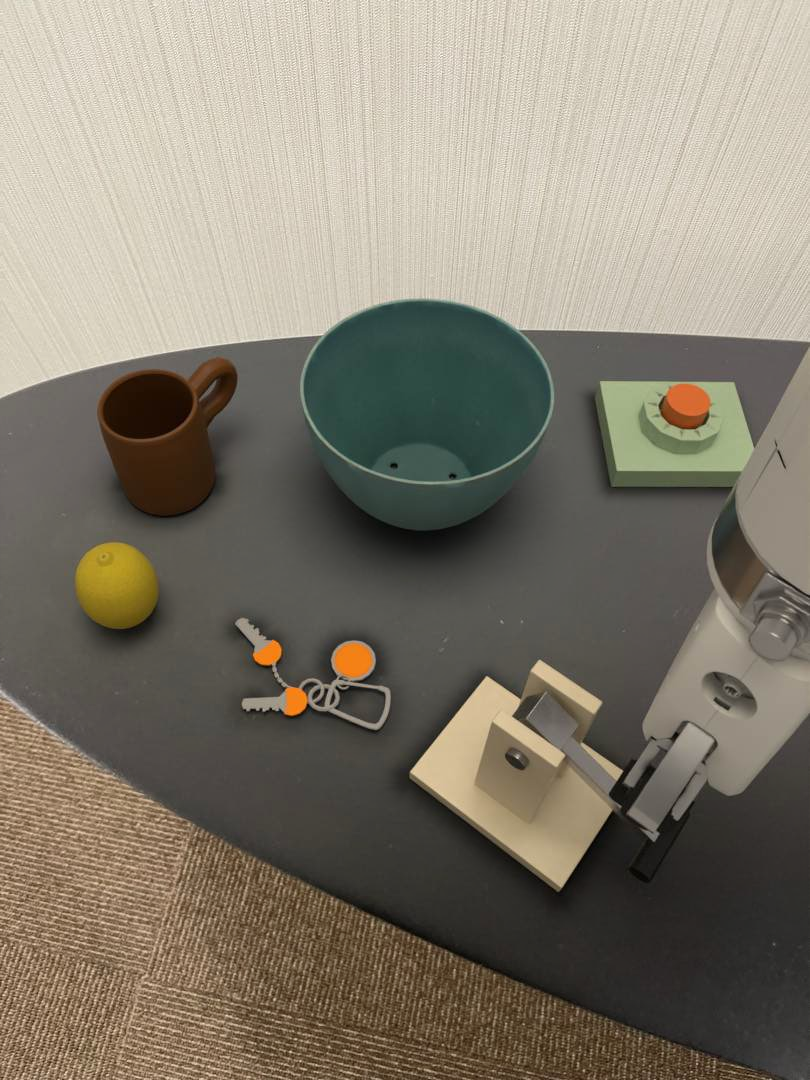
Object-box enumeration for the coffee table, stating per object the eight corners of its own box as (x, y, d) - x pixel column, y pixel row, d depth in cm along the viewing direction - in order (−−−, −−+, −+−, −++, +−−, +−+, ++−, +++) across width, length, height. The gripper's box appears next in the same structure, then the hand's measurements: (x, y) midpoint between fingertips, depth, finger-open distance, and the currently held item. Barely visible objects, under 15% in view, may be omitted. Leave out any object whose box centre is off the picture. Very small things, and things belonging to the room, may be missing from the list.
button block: (726, 398, 82) (741, 367, 79) (752, 487, 76) (769, 457, 73) (594, 398, 81) (603, 366, 78) (610, 486, 76) (621, 456, 73)
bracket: (629, 783, 62) (678, 715, 52) (558, 892, 58) (597, 840, 48) (484, 682, 66) (505, 600, 56) (408, 778, 61) (416, 707, 52)
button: (699, 397, 77) (705, 383, 76) (708, 430, 75) (715, 415, 74) (657, 397, 77) (663, 382, 75) (665, 429, 75) (671, 415, 73)
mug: (214, 404, 80) (197, 322, 72) (275, 450, 77) (264, 370, 69) (104, 483, 74) (73, 405, 66) (165, 536, 72) (140, 461, 64)
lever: (675, 816, 56) (700, 816, 54) (635, 882, 54) (659, 884, 52) (539, 679, 55) (559, 673, 53) (492, 740, 53) (512, 736, 51)
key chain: (405, 654, 66) (406, 649, 66) (379, 746, 62) (379, 742, 62) (240, 613, 68) (239, 608, 67) (204, 701, 64) (202, 696, 63)
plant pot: (289, 425, 78) (278, 317, 68) (489, 388, 82) (506, 280, 71) (336, 602, 69) (331, 507, 59) (561, 553, 72) (592, 455, 62)
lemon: (95, 585, 69) (65, 525, 62) (169, 579, 69) (147, 519, 63) (89, 650, 66) (57, 594, 59) (166, 644, 66) (143, 588, 60)
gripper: (828, 810, 26) (669, 930, 41) (1013, 453, 34) (826, 658, 48) (606, 663, 29) (529, 825, 43) (826, 362, 37) (700, 582, 51)
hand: (686, 736), depth 46 cm, fingers open, 9 cm apart
